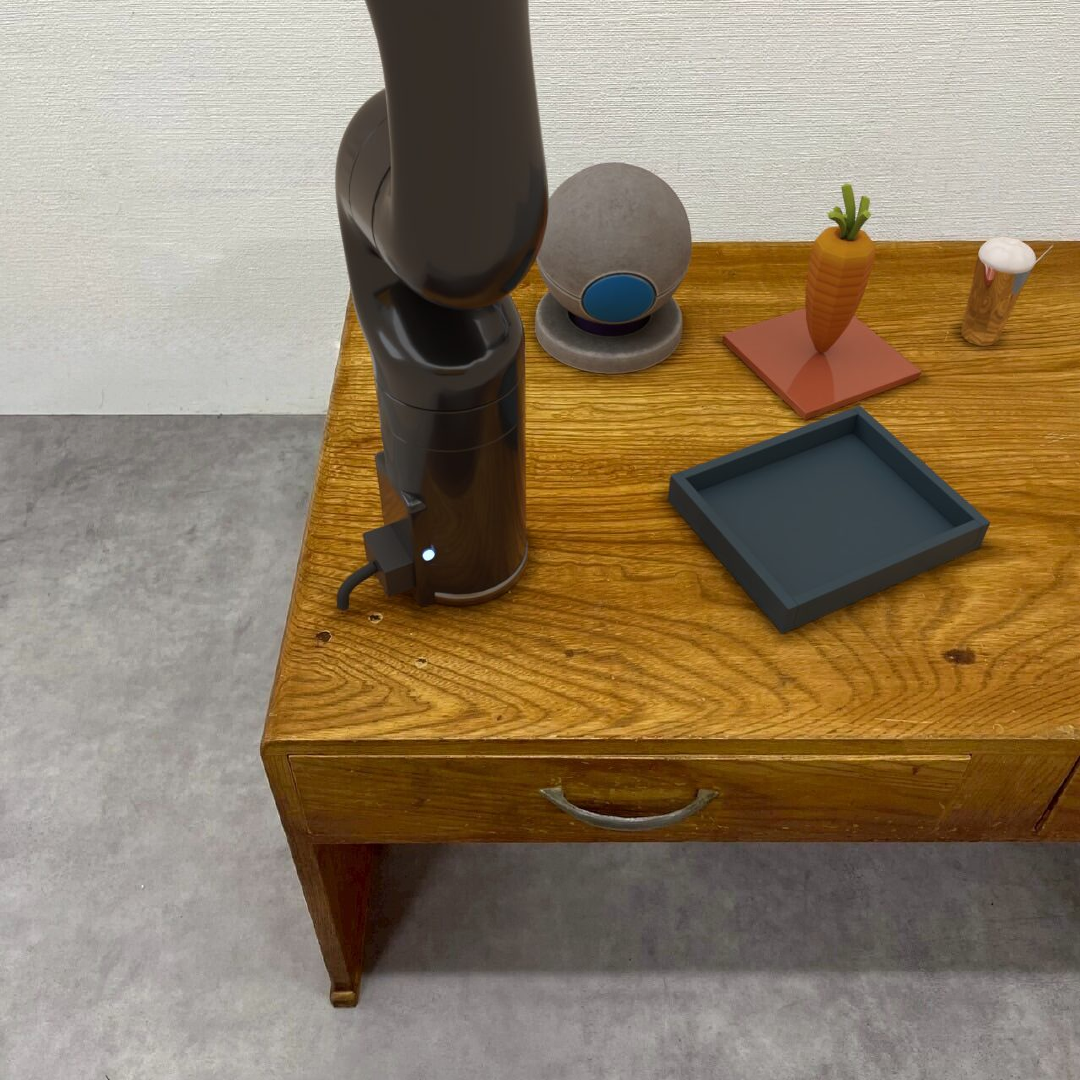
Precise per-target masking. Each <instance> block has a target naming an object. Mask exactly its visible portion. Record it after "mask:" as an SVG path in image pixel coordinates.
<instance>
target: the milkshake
mask: <svg viewBox="0 0 1080 1080" xmlns="http://www.w3.org/2000/svg"><path fill="white" fill-rule="evenodd" d="M1052 248H1054V244H1052V245H1051V246H1050V247H1049V248H1047V250H1046V251H1045V252H1044V253H1042V254H1041V255H1040V257H1038V259H1037V257H1036V254H1035V253H1036V252H1034V250H1033V249H1032V247H1030V246H1029V245H1028V244H1027V243H1025V242H1023V241H1022V240H1020V239H1018V238H1012V237H1008V236H997V237H993V238H991V239H988V240H987V241H986V242H984V243H983V244H982V245H981V246H980V248H979V250H978V253H977V258H976V263H975V268H974V273H973V278H972V283H971V287H970V290H969V295H968V298H967V303H966V306H965V311H964V315H963V319H962V324H961V326H960V333H961V334H960V336H961V337H962V338H963V339H964V340H965V341H967V342H968V343H970V344H972V345H977V346H979V347H984V346H987V347H988V346H992V345H994V344H995V343H997V342H998V341H999V339H1000V338H1001V335H1002V334H1003V331H1004V329H1005V327H1006V325H1007V323H1008V320H1009V318H1010V316H1011V314H1012V312H1013V309H1014V308H1015V306H1016V303H1017V301H1018V299H1019V297H1020V295H1021V293H1022V290H1023V289H1024V287H1025V285H1026V283H1027V281H1028V279H1029V278H1030V275H1031V273H1032V271H1033V269H1034V268H1035V265H1036V264H1037V263H1038V262H1039V261H1040V260H1041V259H1042V258H1043V257H1044V256H1045V255H1046V254H1047V253H1048V252H1049V251H1050V250H1051V249H1052Z"/></svg>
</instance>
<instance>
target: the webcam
mask: <svg viewBox="0 0 1080 1080" xmlns="http://www.w3.org/2000/svg"><path fill="white" fill-rule="evenodd" d="M692 238H693V237H692V231H691V223H690V219H689V217H688V213H687V211H686V208H685V205H684V204H683V202H682V201H681V199H680V197H679V196H678V194H677V193H676V192H675V190H674V189H673V188H672V187H671V186H670V185H669V184H668V183H667V182H666V181H665V180H663V179H662V177H659V176H658V175H656V174H655V173H654V172H652V171H650V170H647V169H646V168H643V167H641V166H636V165H634V164H629V163H624V162H603V163H598V164H594V165H591V166H587V167H585V168H584V169H581V170H579V171H578V172H576V173H574V174H572V175H571V176H569V177H568V178H566V180H564V181H563V182H561V184H560V185H559V186H558V187H556V189H555V190H554V191H553V193H552V194H551V195H550V196H549V211H548V221H547V227H546V231H545V235H544V239H543V242H542V246H541V248H540V251H539V253H538V255H537V258H536V260H535V261H536V264H537V267H538V271H539V275H540V276H541V279H542V281H543V283H544V285H545V286H546V288H547V289H548V291H547V292H545V294H544V295H543V296H542V297H541V299H540V301H539V302H538V305H537V308H536V310H535V315H534V316H535V317H534V333H535V336H536V339H537V341H538V343H539V344H540V346H541V347H542V349H543V350H545V352H546V353H547V354H549V356H551V357H552V358H554V359H556V361H559V362H560V363H562V364H564V365H566V366H569V367H571V368H575V369H578V370H581V371H586V372H590V373H597V374H608V375H609V374H611V375H612V374H626V373H633V372H638V371H643V370H646V369H648V368H651V367H653V366H655V365H657V364H660V363H661V362H663V361H664V360H666V359H668V358H669V357H670V356H672V354H673V353H674V352H675V350H676V349H677V348H678V347H679V345H680V342H681V340H682V335H683V323H684V322H683V313H682V311H681V308H680V305H679V303H678V302H677V301H676V299H675V298H674V295H675V293H676V292H677V290H678V289H679V287H680V285H682V282H683V281H684V278H685V276H686V274H687V272H688V269H689V266H690V262H691V258H692V250H693V242H692V241H693V239H692Z"/></svg>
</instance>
